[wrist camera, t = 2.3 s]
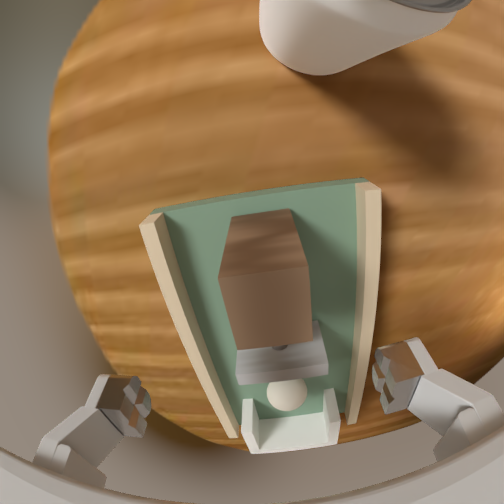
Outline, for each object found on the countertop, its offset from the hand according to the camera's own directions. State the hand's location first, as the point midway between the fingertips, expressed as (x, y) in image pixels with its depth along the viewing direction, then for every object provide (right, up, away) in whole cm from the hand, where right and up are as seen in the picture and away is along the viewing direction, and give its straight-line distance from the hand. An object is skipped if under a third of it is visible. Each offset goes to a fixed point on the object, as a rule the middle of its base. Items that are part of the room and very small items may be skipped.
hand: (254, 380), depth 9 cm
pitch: (+2, -3, +15) cm, 15 cm away
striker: (+1, +2, +11) cm, 11 cm away
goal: (+4, -12, +18) cm, 22 cm away
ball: (+3, -8, +14) cm, 16 cm away
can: (+4, +18, +5) cm, 19 cm away
